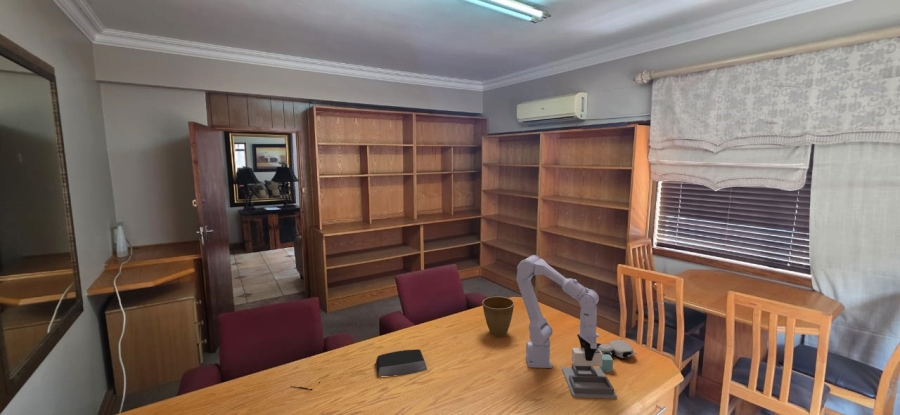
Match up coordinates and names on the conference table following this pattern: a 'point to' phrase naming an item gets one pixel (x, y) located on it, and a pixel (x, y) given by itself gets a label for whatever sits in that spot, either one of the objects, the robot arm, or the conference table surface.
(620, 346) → the robot toy
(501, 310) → the plant pot
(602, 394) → the jig
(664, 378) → the conference table surface
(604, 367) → the teal block
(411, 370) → the external hard drive
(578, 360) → the beige rectangular block
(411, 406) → the conference table surface
